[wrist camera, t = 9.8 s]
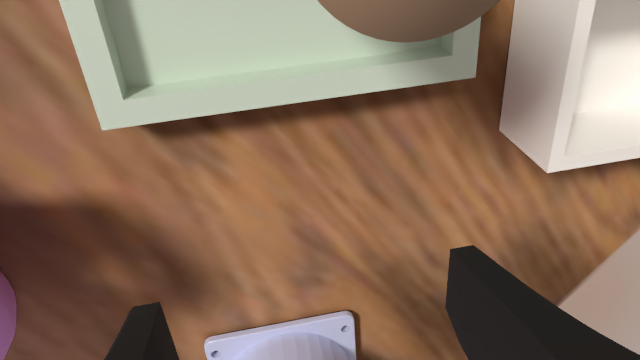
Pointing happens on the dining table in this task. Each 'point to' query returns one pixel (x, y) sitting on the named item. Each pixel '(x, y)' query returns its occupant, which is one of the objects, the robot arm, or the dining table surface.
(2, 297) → the teakettle
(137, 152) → the dining table surface
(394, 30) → the walnut dowel
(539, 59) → the square cup
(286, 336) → the robot arm
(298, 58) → the tray
